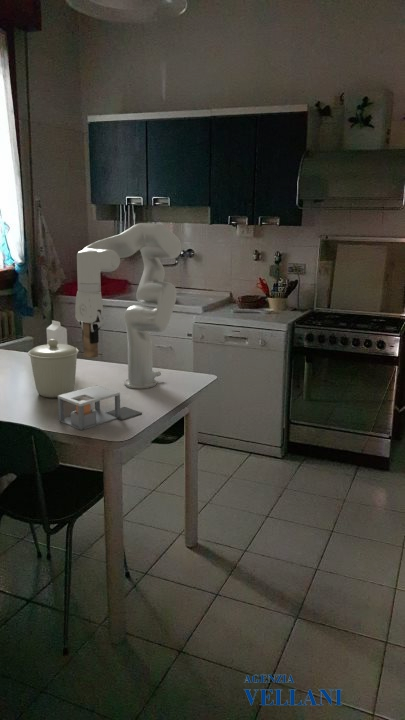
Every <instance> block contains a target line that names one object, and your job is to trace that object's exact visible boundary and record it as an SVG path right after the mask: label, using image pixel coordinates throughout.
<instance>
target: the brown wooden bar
mask: <svg viewBox="0 0 405 720" xmlns="http://www.w3.org/2000/svg"><path fill="white" fill-rule="evenodd" d="M95 322H96V321H95ZM95 325H96V324H94V326H95ZM90 332H91V326H90V323H85V322H83V336H82V342H83V344H82V346H83V357H85V358H87V359H93V358H98V357H99V351H98V349H99V348H98V346H99V345H98V343H99V342H98V343H93V344H91V343H90Z"/></svg>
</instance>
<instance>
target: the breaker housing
mask: <svg viewBox="0 0 405 720" xmlns="http://www.w3.org/2000/svg"><path fill="white" fill-rule="evenodd" d="M81 398H87V399H88V400H86V401H83V402H79V401H80V400H78V399H81ZM111 398H114V410H115V414H114V415H115V416H111V414H112V413H110V415H109V414H108V413H109V411H107V410H104V409H102V408H101V401H103V400H108V399H111ZM64 401H65V402H68V403H70V404H73V405H75V406H76V405H78V414H77V413H76V410H74V411H71V412H70V416H67V417H65V410H64ZM93 403H94V409H90V412H91V413H89V414H85V415H84V406H83V405H87V404H90V405H91V404H93ZM57 407H58V408H57V409H58V422H60V423H62V424H65V425H68V426H70V427H72V428H74V429H77V430H79V431H84V430H87V429H89V428H90V429H91V428H94V427H96V426H99V425H102V424H105V423H108V422H111V421H115V420H118V419H117V417H120V408H121V393H120V392H119V391H116V390H114V389H113V390H112V389H110V388H107V387H104V386H101V385H98V384H96V385H92V386H89V387H85V388H82V389H81V388H80V389H78V390H73V391H72V392H69V393H65V394H62V395H58V397H57ZM107 412H108V413H107Z"/></svg>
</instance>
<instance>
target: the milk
mask: <svg viewBox="0 0 405 720" xmlns="http://www.w3.org/2000/svg"><path fill="white" fill-rule="evenodd" d="M67 331H68V329H67V328H66V327H64V326H62V325H61V321H57V320H52V319H51V324H50V325H48V326H47V327H46V344H48V341H49V340H50V339H56V340H57V341H58V344H67V345H68V332H67Z"/></svg>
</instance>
